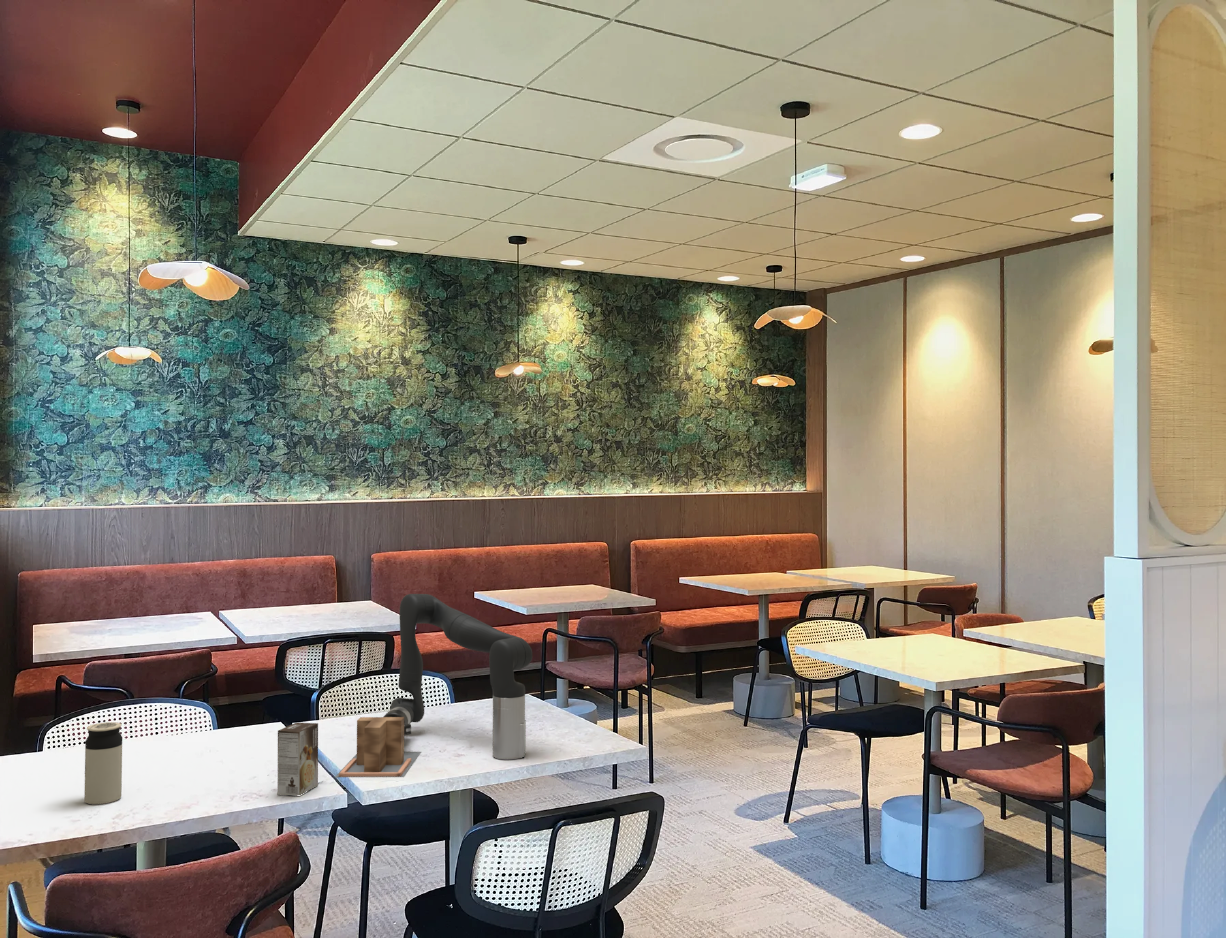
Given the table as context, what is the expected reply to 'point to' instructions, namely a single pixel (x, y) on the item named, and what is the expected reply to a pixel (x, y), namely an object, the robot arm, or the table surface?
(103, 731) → the travel mug
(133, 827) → the table surface
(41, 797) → the table surface
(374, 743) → the t block
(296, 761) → the coffee box
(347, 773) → the board
